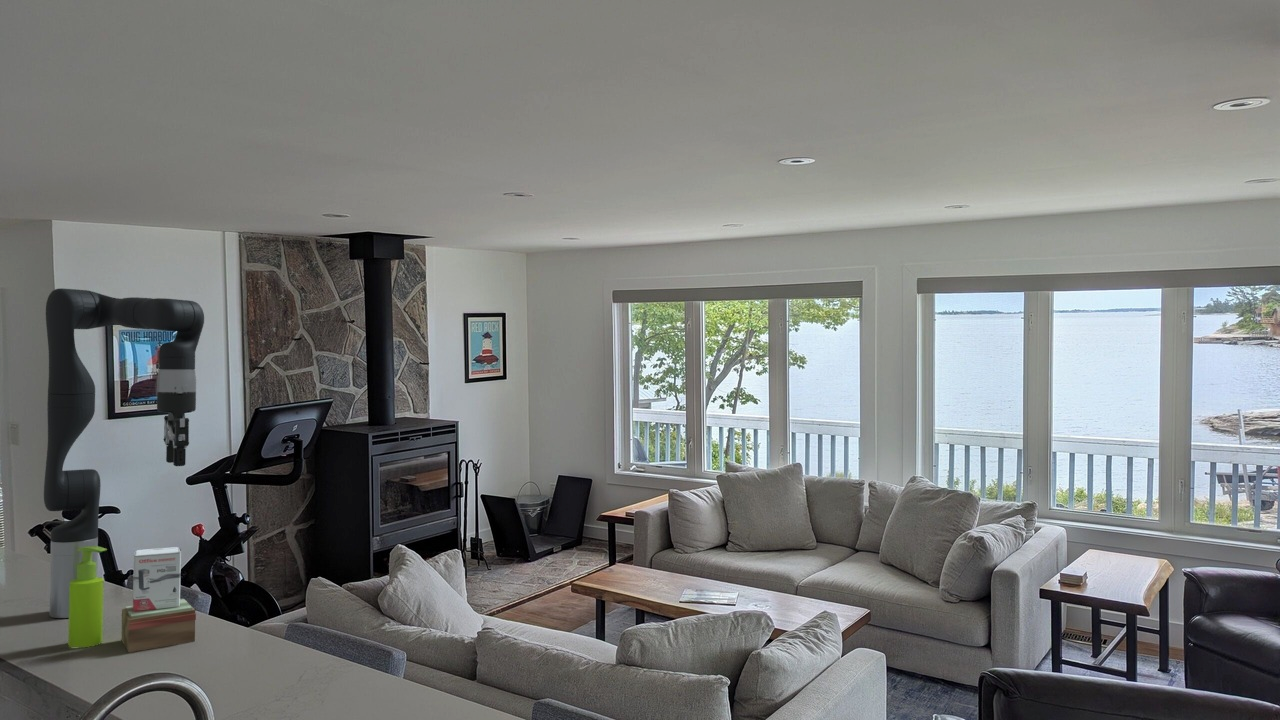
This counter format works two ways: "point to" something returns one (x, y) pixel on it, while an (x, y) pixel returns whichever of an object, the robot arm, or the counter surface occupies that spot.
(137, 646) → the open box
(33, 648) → the counter surface
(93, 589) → the soap dispenser
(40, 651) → the counter surface
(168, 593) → the ink box
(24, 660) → the counter surface
